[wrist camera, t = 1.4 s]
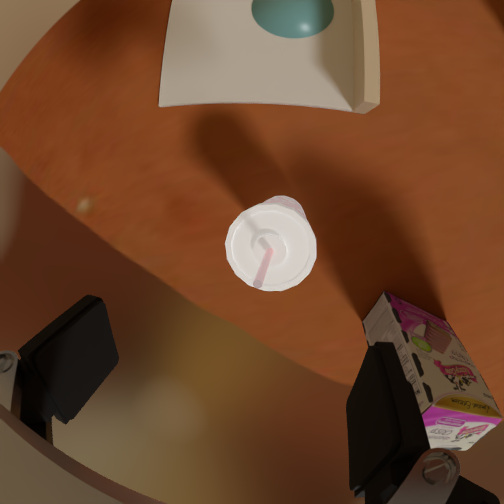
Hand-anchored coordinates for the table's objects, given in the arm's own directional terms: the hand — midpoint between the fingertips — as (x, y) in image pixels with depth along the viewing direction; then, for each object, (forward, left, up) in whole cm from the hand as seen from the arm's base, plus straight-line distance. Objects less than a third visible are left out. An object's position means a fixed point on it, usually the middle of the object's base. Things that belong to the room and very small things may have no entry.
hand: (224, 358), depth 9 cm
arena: (+3, -20, -19) cm, 28 cm away
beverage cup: (0, 0, -20) cm, 20 cm away
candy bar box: (-16, +10, -20) cm, 27 cm away
